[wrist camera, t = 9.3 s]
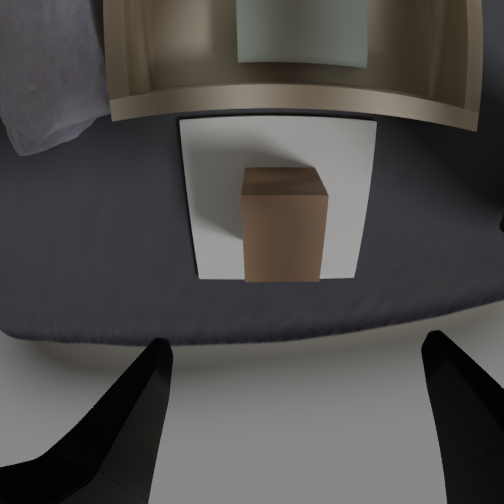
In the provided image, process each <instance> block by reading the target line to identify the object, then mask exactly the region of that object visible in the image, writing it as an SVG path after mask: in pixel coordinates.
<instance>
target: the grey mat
mask: <svg viewBox="0 0 504 504" xmlns="http://www.w3.org/2000/svg"><path fill="white" fill-rule="evenodd" d="M179 122H180V133H181V143H182V153H183V162H184V171H185V180H186V188H187V196H188V204H189V212H190V219H191V227H192V234H193V241H194V248H195V254H196V261H197V268H198V274H199V279H245V273H244V253H243V232H242V211H241V191H242V184H243V177H244V171H245V168H256V167H296V168H316V170H317V172H318V174H319V177H320V179H321V181H322V183H323V185H324V187H325V189H326V191H327V193H328V195H329V198H328V209H327V219H326V229H325V238H324V247H323V255H322V263H321V271H320V278H354V275H355V270H356V265H357V260H358V255H359V250H360V245H361V239H362V234H363V228H364V222H365V216H366V209H367V203H368V196H369V189H370V182H371V174H372V166H373V157H374V148H375V138H376V127H377V122H376V121H371V120H361V119H350V118H336V117H319V116H289V115H254V116H223V117H206V118H192V119H181V120H179Z"/></svg>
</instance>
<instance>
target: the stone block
mask: <svg viewBox="0 0 504 504" xmlns="http://www.w3.org/2000/svg"><path fill="white" fill-rule="evenodd" d="M110 113H111V109H110V101H109V92H108V82H107V72H106V59H105V43H104V17H103V0H1V1H0V117H1V119H2V121H3V123H4V125H5V126H6V129H7V135H8V137H9V139H10V141H11V143H12V145H13V147H14V149H15V151H16V152H17V153H18V155H19V156H21V155H22V156H28V155H31V154H35V153H40V152H42V151H45V150H48V149H49V148H51V147H55V146H57V145H59V144H60V143H63V142H69V141H70V140H72V139H74V138H77V137H78V135H79V134H81V133H82V132H83V131H84V130H85V129H86V128H87V127H90V126H91V125H92V123H93V122H94V120H95V119H97V118H98V117H101V116H106V115H108V114H110Z"/></svg>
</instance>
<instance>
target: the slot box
mask: <svg viewBox="0 0 504 504" xmlns="http://www.w3.org/2000/svg"><path fill="white" fill-rule="evenodd" d="M103 17H104V43H105V59H106V72H107V82H108V92H109V101H110V109H111V117H112V122H113V121H118V120H124V119H131V118H138V117H145V116H152V115H160V114H169V113H179V112H189V111H202V110H217V109H239V108H303V109H325V110H340V111H352V112H363V113H372V114H381V115H389V116H396V117H403V118H410V119H416V120H422V121H427V122H433V123H438V124H443V125H448V126H453V127H458V128H462V129H466V130H471V131H475V132H477V125H478V117H479V109H480V99H481V87H482V70H483V21H482V5H481V0H103Z"/></svg>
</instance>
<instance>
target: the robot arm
mask: <svg viewBox="0 0 504 504" xmlns="http://www.w3.org/2000/svg"><path fill="white" fill-rule="evenodd" d="M421 353H422V359H423V364H424V371H425V378H426V384H427V389H428V394H429V398H430V403H431V407H432V411H433V416H434V421H435V425H436V430H437V435H438V441H439V446H440V452H441V458H442V464H443V471H444V478H445V487H446V496H447V504H504V389H503V388H501V386H500V385H499V384H498V383H497V382H496V381H495V380H494V379H493V378H492V377H491V376H489V374H488V373H486V371H484V370H483V369H482V368H481V367H480V366H479V365H478V364H477V363H476V362H475V361H474V360H473V359H472V358H471V357H469V356H468V355H467V354H466V353H465V352H464V351H463V350H462V349H461V348H459V347H458V346H457V345H456V344H455V343H454V342H453V341H452V340H451V339H449V338H448V337H447V336H446V335H445V334H444V333H443V332H441V331H440V330H435V331H430V332H429V333H428V335H427V337H426V339H425V341H424V343H423V345H422V348H421ZM172 365H173V353H172V350H171V347H170V344H169V341H168V339H166V338H155V339H154V340H153V341H152V342H151V343H150V344H149V345H148V347H147V348H146V349H145V350H144V351H143V352H142V353H141V354H140V356H138V358H137V359H136V360H135V361H134V362H133V363H132V364H131V365H130V366H129V367H128V369H127V370H126V371H125V372H124V373H123V374H122V375H121V376H120V377H119V378H118V380H117V381H116V382H115V383H114V384H113V385H112V386H111V387H110V388H109V390H108V391H107V392H106V393H105V394H104V395H103V396H102V397H101V398H100V400H99V401H98V402H97V403H96V404H95V405H94V406H93V408H91V410H90V411H89V412H88V413H87V414H86V415H85V416H84V417H83V418H82V419H81V421H79V423H78V424H77V425H76V426H75V427H74V428H72V429H71V430H70V431H69V432H68V433H67V434H66V435H65V436H64V437H63V438H62V439H60V440H59V441H58V442H57V443H56V444H55V445H54V446H52V447H51V448H50V449H49V450H48V451H47V452H45V453H44V454H43V455H41V456H40V457H38V458H36V459H34V460H30V461H27V462H23V463H18V464H14V465H9V466H4V467H0V504H148V500H149V495H150V489H151V484H152V479H153V474H154V468H155V463H156V458H157V453H158V448H159V443H160V438H161V434H162V429H163V424H164V420H165V415H166V410H167V406H168V400H169V394H170V384H171V375H172Z"/></svg>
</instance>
